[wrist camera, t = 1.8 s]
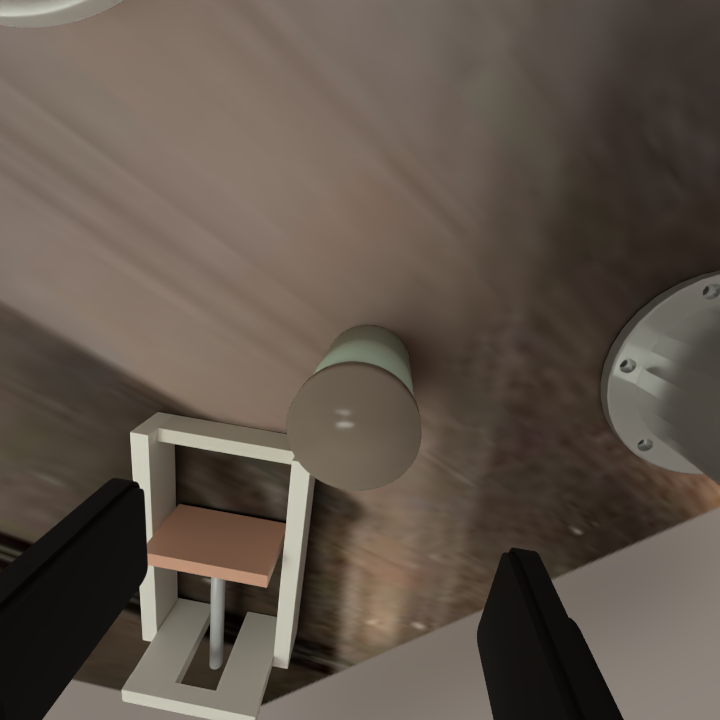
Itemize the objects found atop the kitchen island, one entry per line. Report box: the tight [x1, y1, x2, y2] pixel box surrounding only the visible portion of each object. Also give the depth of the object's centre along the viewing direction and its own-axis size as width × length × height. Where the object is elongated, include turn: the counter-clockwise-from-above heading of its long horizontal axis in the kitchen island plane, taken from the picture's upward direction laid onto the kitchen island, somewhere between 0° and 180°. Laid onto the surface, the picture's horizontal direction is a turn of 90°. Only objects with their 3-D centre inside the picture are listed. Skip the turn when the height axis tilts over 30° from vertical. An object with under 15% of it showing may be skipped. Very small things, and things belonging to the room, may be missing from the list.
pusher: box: [147, 504, 286, 669], centre depth 29 cm, size 9×13×5 cm, turn 172°
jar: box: [286, 325, 421, 491], centre depth 20 cm, size 6×6×9 cm
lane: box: [122, 412, 315, 720], centre depth 26 cm, size 12×19×7 cm, turn 172°
